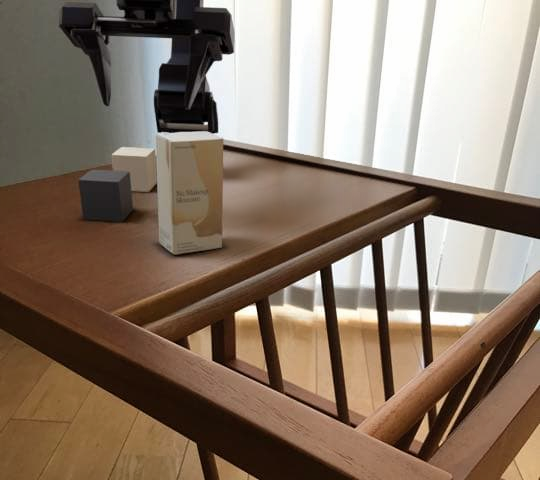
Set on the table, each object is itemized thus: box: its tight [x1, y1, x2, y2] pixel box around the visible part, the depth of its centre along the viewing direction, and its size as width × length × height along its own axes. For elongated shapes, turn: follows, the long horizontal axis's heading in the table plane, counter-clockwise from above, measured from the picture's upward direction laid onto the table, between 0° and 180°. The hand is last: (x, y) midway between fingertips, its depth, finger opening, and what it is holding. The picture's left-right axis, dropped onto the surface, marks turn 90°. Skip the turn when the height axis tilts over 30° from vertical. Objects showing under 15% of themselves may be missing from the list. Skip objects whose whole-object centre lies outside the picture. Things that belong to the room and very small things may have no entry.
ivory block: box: [110, 146, 157, 193], centre depth 91 cm, size 5×5×5 cm
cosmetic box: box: [155, 131, 224, 255], centre depth 69 cm, size 6×4×12 cm
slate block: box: [78, 169, 134, 223], centre depth 79 cm, size 5×5×5 cm
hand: (146, 106), depth 71 cm, fingers open, 9 cm apart
